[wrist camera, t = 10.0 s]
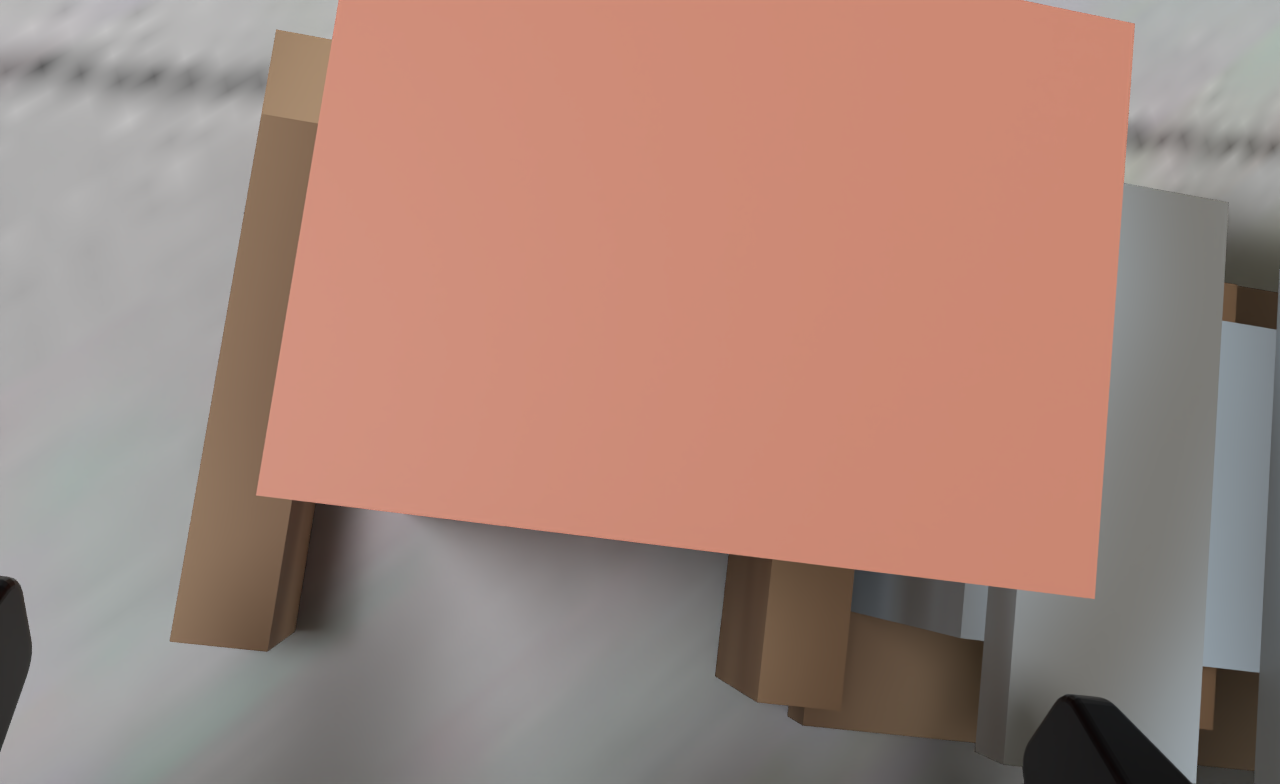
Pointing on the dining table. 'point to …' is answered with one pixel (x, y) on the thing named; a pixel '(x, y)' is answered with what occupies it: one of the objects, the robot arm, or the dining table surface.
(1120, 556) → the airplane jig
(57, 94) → the dining table surface
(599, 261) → the salmon pink box
